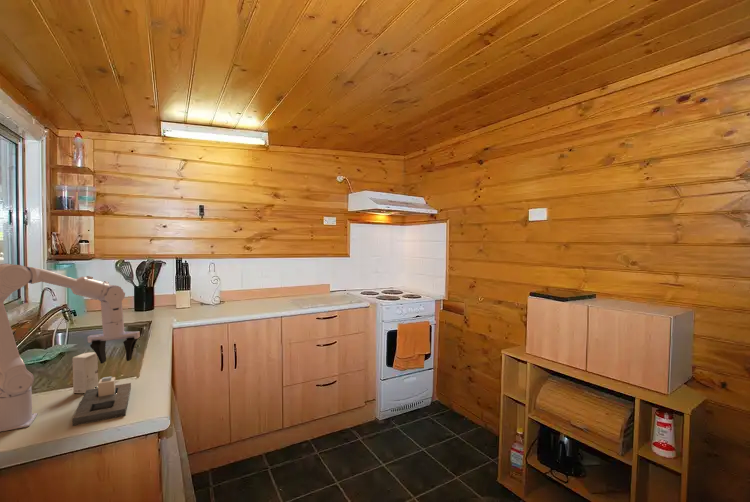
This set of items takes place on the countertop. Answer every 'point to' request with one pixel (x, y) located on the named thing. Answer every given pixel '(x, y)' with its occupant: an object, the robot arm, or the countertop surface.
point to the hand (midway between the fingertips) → (116, 361)
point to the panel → (102, 405)
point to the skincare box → (85, 372)
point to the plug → (106, 386)
